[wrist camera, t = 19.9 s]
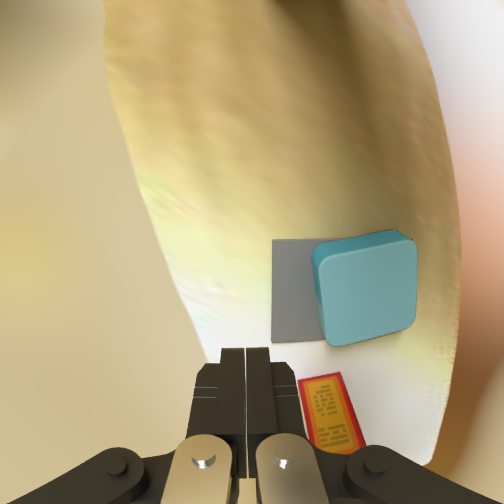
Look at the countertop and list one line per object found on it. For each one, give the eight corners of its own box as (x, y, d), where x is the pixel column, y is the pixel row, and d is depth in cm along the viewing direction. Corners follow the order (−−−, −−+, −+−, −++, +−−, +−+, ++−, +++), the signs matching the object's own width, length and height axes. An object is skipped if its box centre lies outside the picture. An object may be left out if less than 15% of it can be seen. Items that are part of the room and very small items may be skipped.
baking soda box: (339, 410, 47) (362, 487, 32) (301, 418, 47) (315, 497, 32) (340, 371, 44) (369, 454, 29) (297, 380, 44) (314, 467, 29)
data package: (319, 330, 40) (401, 310, 40) (327, 350, 36) (415, 326, 36) (308, 245, 36) (401, 227, 36) (317, 259, 32) (418, 238, 32)
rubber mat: (272, 239, 37) (272, 241, 36) (410, 237, 37) (412, 239, 36) (271, 339, 41) (271, 342, 41) (393, 330, 42) (395, 332, 41)
